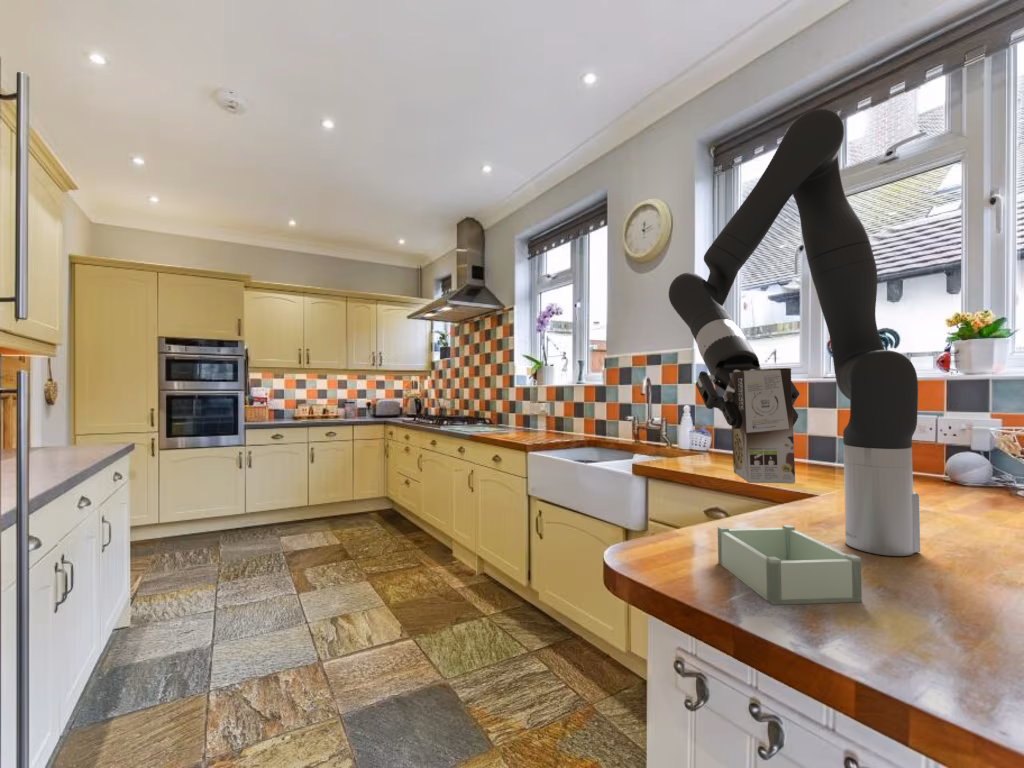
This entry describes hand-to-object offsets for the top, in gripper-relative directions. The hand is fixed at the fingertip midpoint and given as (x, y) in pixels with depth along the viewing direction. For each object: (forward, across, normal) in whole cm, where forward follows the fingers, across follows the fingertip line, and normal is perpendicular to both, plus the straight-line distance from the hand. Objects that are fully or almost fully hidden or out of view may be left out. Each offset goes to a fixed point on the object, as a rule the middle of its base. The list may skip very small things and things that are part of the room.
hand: (765, 424), depth 70 cm
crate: (+17, +1, +14) cm, 22 cm away
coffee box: (+5, 0, +7) cm, 8 cm away
